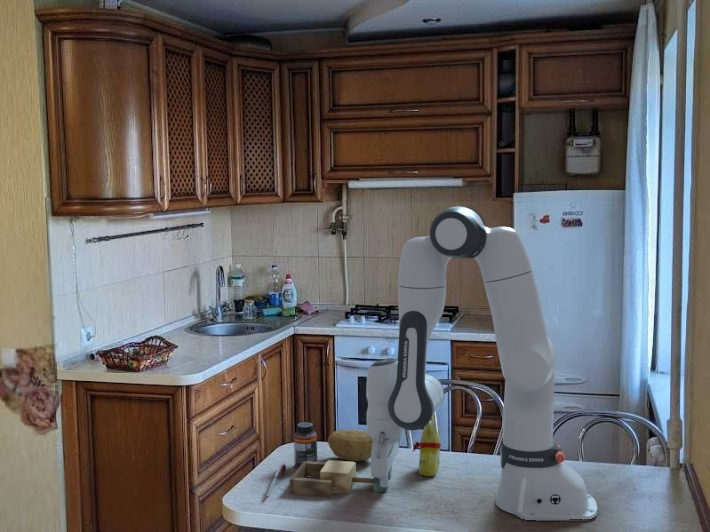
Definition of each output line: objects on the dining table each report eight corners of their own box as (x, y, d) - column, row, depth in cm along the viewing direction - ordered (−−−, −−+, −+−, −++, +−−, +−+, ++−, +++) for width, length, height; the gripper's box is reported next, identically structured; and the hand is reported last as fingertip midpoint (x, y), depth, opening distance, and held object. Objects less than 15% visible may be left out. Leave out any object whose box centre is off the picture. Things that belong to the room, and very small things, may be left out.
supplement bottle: (305, 461, 217) (304, 419, 215) (322, 466, 213) (321, 423, 212) (289, 467, 212) (288, 424, 211) (306, 472, 208) (305, 429, 207)
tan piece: (342, 476, 205) (342, 463, 204) (331, 496, 192) (330, 482, 192) (304, 474, 207) (304, 460, 206) (289, 493, 194) (289, 479, 194)
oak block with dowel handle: (390, 483, 200) (389, 464, 199) (384, 496, 192) (384, 475, 192) (328, 479, 203) (327, 460, 202) (320, 491, 195) (320, 471, 195)
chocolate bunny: (442, 463, 214) (442, 407, 212) (437, 478, 203) (437, 419, 201) (416, 461, 215) (416, 406, 214) (410, 476, 205) (409, 418, 203)
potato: (337, 451, 224) (337, 422, 224) (384, 458, 218) (384, 428, 218) (320, 462, 216) (320, 432, 215) (369, 470, 210) (369, 439, 209)
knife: (282, 471, 210) (281, 460, 210) (286, 471, 210) (286, 460, 209) (264, 502, 190) (264, 490, 189) (269, 503, 190) (269, 490, 189)
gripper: (391, 440, 184) (392, 500, 185) (404, 415, 204) (404, 468, 205) (363, 439, 185) (364, 498, 186) (379, 413, 205) (379, 467, 206)
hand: (385, 482), depth 196 cm, fingers open, 3 cm apart
